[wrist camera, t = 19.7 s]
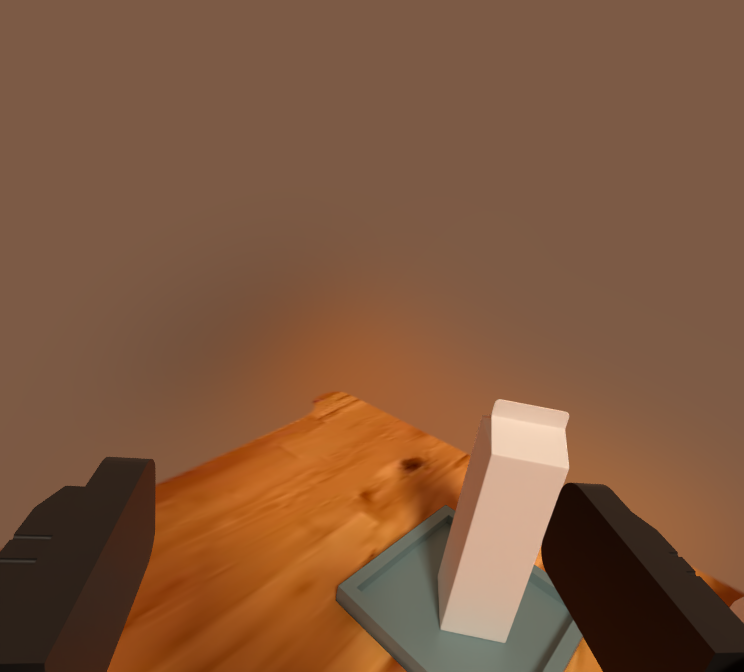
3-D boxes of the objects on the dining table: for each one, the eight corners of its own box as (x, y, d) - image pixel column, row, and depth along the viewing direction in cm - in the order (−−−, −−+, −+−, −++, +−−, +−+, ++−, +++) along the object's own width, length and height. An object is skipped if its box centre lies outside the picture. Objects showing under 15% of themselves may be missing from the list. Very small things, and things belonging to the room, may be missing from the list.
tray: (335, 600, 44) (338, 585, 43) (442, 516, 57) (445, 504, 56) (509, 773, 33) (516, 757, 32) (591, 620, 46) (597, 607, 45)
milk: (437, 577, 47) (489, 382, 40) (496, 588, 47) (559, 395, 40) (439, 632, 42) (501, 416, 34) (507, 645, 41) (583, 431, 34)
